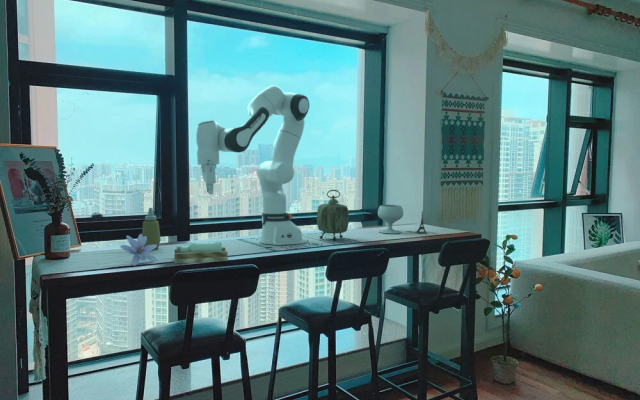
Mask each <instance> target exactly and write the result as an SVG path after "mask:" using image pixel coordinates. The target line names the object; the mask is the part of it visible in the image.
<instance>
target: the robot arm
mask: <svg viewBox="0 0 640 400" xmlns="http://www.w3.org/2000/svg"><path fill="white" fill-rule="evenodd" d="M309 110H310V100H309V98H308V97H307V96H306V95H304V94H302V93H296V92H289V91H288V92H284V90H283V89H282V88H281V87H279V86H277V85H269V86H268V87H266V88H265V89H263V90H261V91H260V92H259V93H257V94H256V96H254V97H253V98H252V99H251V101H249V103H248V104H247V112H248V115H249V118H248V119H247V120H246V121H245V122H244V123H243V124H242V125H241V126H238V127H237V126H236V127H233V128H227V127H224V126H222V125H220V124H219V123H218V122H217V121H216V120H214V119H213V120H211V119H210V120H205V121H204V120H203V121H201V122H199V123H198V124H197V126H196V132H195V133H196V134H195V135H196V145H197V152H196V155H197V156H196V159H197V166H198V165H199V166H200V169H201V175H202V178H203V182H205V187H206V193H208V195H210V196H211V195H214V184H216V182H217V179H216V178H217V177H216V169H217V168H218V167H217V165H220V152H223V153H224V152H225V153H227V152H228V153H230V152H231V153H240V154H241V153H243V152H245V151H246V150H247V149H248V147H249V146H250V144H251V141H252V140H253V138H254V137H255V135H256V134H257V133H258V132H259V131H260V130H261V128H262V127H264V125H266V123H267V121H268V120H269V118H271V117H272V116H273V115H277V116H281V117H282V116H283V117H282V118H283V122H282V123H281V126H280V128H279V129H278V132H277V134H276V137H275V139H274V142H273V145H272V147H273V155H272V158H271V160H266V161H263V162H261V163H260V164H258V166H257V168H256V176H257V177H258V179H259V183H260V187H261V193H262V213H261V224H262V228H261V235H260V238H259V242H260V243H261V244H265V245H274V246H284V245H298V244H306V243H307V239H306V238H305V237H303V235H302V229H301V228H300V227H299V226H297V225H296V223H294V222H292V221H291V219H293V217H294V216H293V215H292V214H291V213H290V214H289V213H288V212H287V196H286V193H285V192H284V189H283V185H285V184H289V183H290V182H291V181H292V180H293V178H294V177H295V171H294V167H293V166H294V160H295V159H294V158H295V155H296V152H297V148H298V146H299V144H300V141H301V139H302V136H303V132H304V128H305V121H306V120H305V118H306V116H307V114H308V112H309Z"/></svg>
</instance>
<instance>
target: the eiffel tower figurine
mask: <svg viewBox="0 0 640 400" xmlns="http://www.w3.org/2000/svg"><path fill="white" fill-rule="evenodd" d="M423 213H424V212H423V209H422V211H421V218H420V219H421V221H420V225H419V227H418V229H417V230H416V232H415V231H410V230H409V231H408V230H406V232H408V233H413V234H418V235H429V233H428V232H427V231H426V229H425V226H424V216H423V215H424V214H423ZM422 230H423V231H422ZM431 234H432V235H434V234H436V233H431Z"/></svg>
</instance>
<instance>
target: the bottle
mask: <svg viewBox="0 0 640 400" xmlns="http://www.w3.org/2000/svg"><path fill="white" fill-rule="evenodd" d="M222 247H223V246H222V241H214V242H213V241H210V242H207V241H206V242H190V244H189V246H177V245H176V249H177V253H187V252H190V253H191V252H214V251H222Z"/></svg>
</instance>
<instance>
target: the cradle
mask: <svg viewBox="0 0 640 400" xmlns="http://www.w3.org/2000/svg"><path fill="white" fill-rule="evenodd" d="M228 261H229V257H228V250H226V246H222V251H214V252H191V253H190V252H187V253H177V248H175V249H174V264H190V263H211V262H215V263H216V262H228Z"/></svg>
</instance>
